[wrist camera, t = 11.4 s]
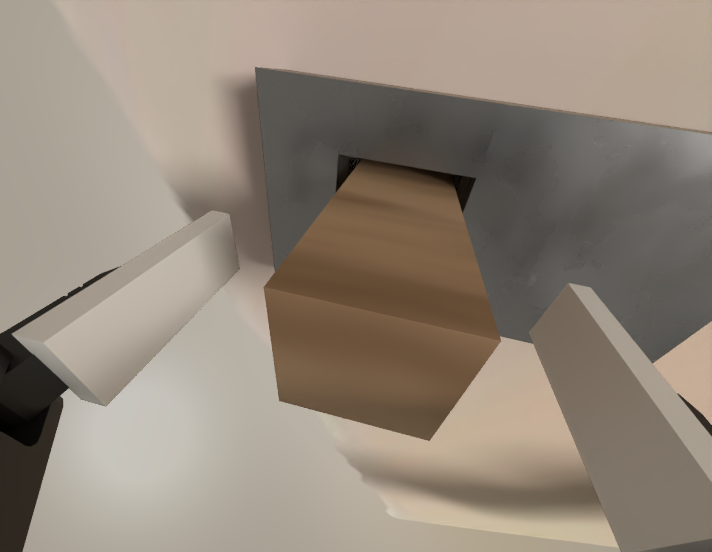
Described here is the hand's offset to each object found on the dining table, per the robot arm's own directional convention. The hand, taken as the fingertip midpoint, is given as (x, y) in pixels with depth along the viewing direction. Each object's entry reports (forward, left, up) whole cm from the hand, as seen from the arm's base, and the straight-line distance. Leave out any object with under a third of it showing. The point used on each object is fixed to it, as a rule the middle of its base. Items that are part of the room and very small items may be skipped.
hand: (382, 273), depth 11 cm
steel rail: (0, -5, -7) cm, 9 cm away
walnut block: (0, 0, -7) cm, 7 cm away
